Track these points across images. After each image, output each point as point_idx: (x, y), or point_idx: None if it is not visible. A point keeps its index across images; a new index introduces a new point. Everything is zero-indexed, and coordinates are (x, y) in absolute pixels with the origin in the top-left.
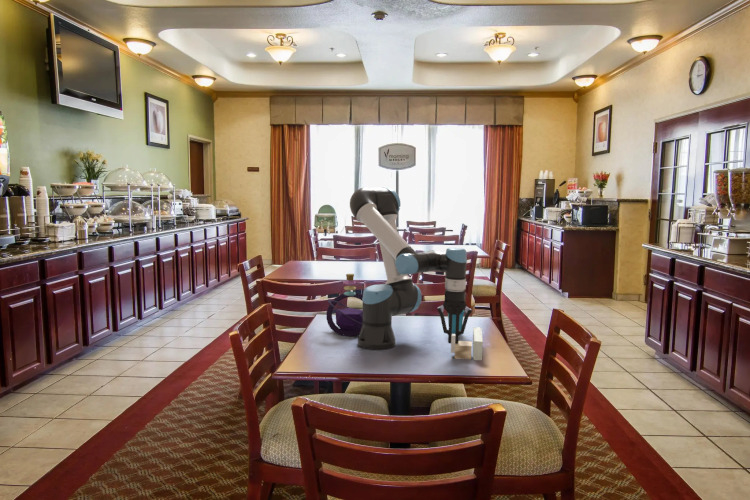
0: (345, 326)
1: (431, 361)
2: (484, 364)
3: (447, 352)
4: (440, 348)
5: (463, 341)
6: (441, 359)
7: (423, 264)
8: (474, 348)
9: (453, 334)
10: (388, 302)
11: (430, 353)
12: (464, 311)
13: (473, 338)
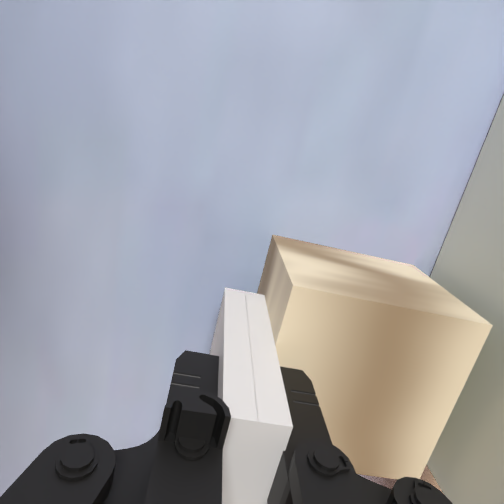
0: None
1: (35, 439)
2: (424, 471)
3: (201, 213)
4: (142, 69)
5: (390, 322)
6: (121, 395)
7: None
8: (434, 470)
9: (246, 456)
10: None
11: (23, 247)
12: None
13: None
